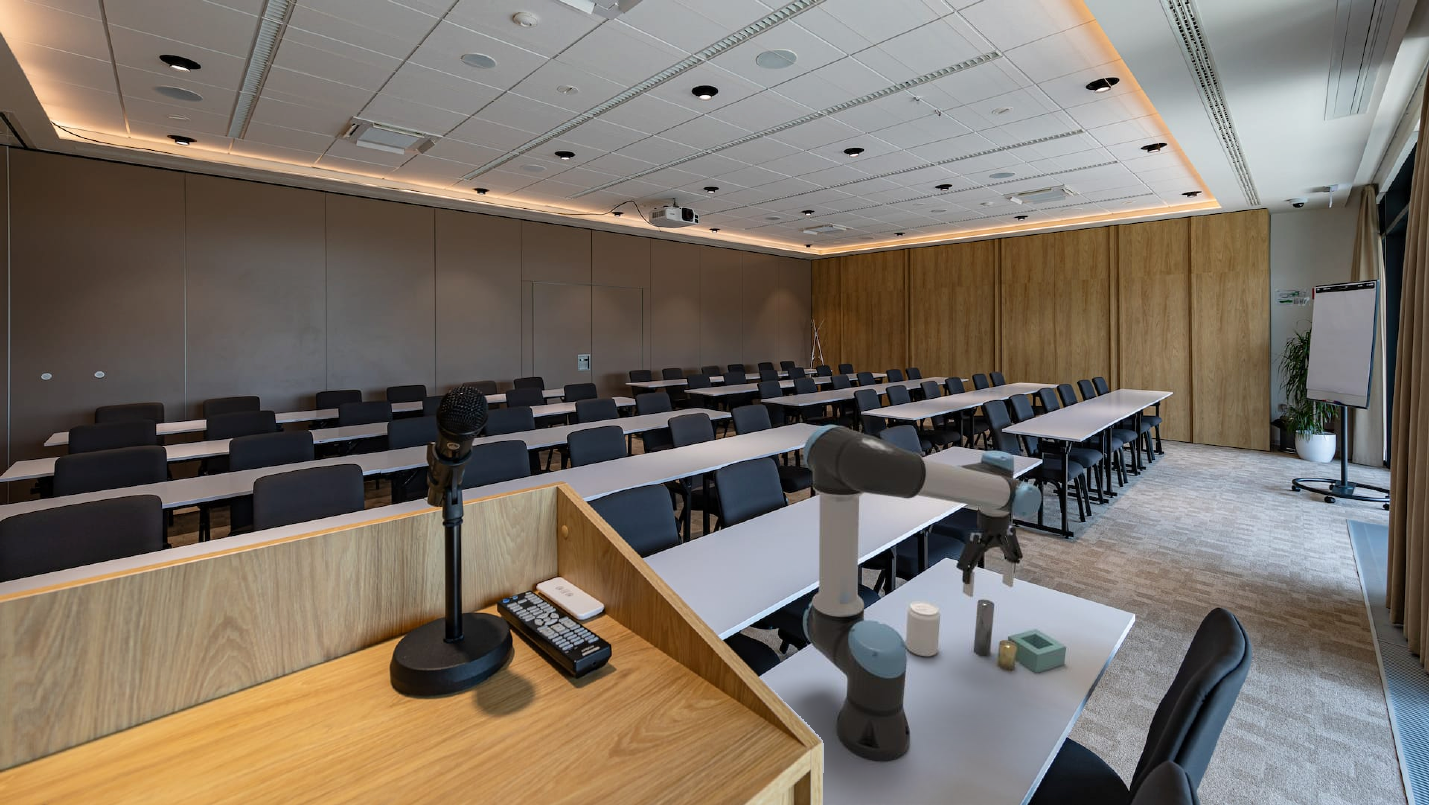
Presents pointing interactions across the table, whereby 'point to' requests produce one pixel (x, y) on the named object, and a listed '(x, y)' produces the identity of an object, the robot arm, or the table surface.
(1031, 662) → the hole block
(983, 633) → the long pin
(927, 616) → the beverage can
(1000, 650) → the short pin
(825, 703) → the table surface
